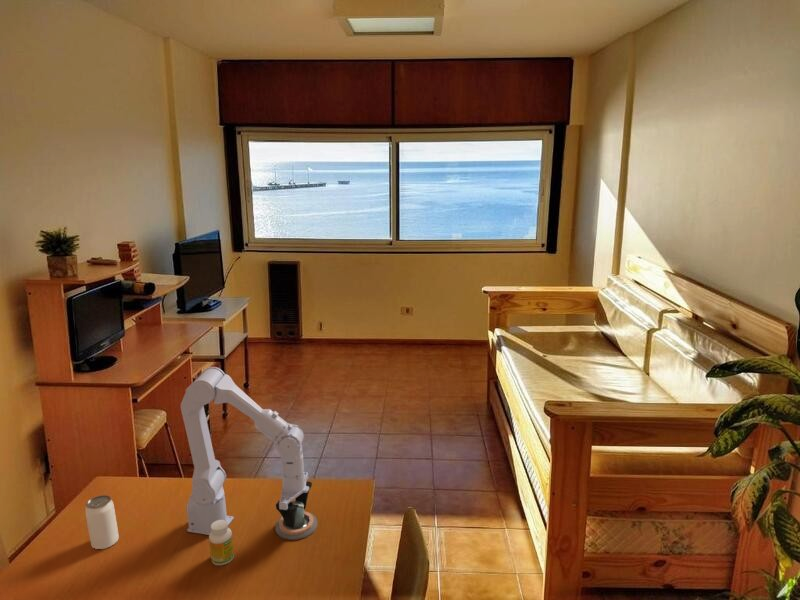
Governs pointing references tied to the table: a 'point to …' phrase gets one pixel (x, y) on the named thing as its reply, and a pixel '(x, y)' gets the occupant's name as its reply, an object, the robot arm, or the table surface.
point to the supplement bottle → (221, 543)
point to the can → (101, 522)
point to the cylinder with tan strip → (299, 515)
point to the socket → (297, 533)
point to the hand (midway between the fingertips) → (296, 517)
